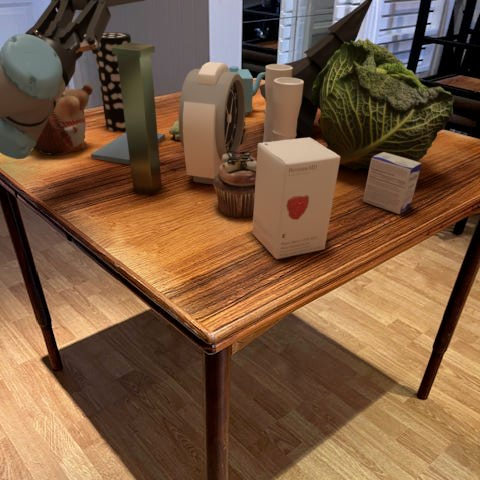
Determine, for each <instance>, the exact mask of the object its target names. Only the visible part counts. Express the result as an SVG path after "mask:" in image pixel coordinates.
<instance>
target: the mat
mask: <svg viewBox="0 0 480 480" xmlns="http://www.w3.org/2000/svg"><path fill="white" fill-rule="evenodd" d="M157 135H158V144H159V143H161V142H162V141H164V140H165V139H166V135H165V133H158V132H157ZM90 156H91V158H90V159H92V160H99V161H104V162H105V161H106V162H113V163H118V164H123V165H125V164H126V165H130V158H129V150H128V142H127V134H126V132H124V133H123V134H121V135H120V136H118V137H116V138H115V139H113V140H111V141H110V142H107V143H106V144H105V145H103V146H102V147H99V148H98V149H97V150H94V151H93V152H91V153H90Z"/></svg>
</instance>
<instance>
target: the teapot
mask: <svg viewBox="0 0 480 480" xmlns="http://www.w3.org/2000/svg"><path fill="white" fill-rule="evenodd" d="M228 67H229V72H237V73H238V74H239V75H240V76H241V78H242V80H243V84H244V90H245V117H246V116H248V115H249V112H250V113H251V112H253V98H254V97H256V95H257V93H258V92H259V90H260V88H259V86H261V83H262V80H263V78H265V73H266V71H264V72H260V73H258V74H257V76H256V79H255V82H254V78H253V76H252V74H251V72H250V70H249V69H248V68H247V69H246V68H245V69H244V68H242V69H240V68H239V66H235V65H231V66H228Z"/></svg>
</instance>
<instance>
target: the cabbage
mask: <svg viewBox="0 0 480 480" xmlns="http://www.w3.org/2000/svg"><path fill="white" fill-rule="evenodd" d="M312 92H313V93H312V96H310V97H311V98H312V101H311V103H312V105H313V106H316V107H318V110H320V117H319V118H318V119H317V123H318V125H319V128H320V129H321V138H322V140H323V141H324V143H325V144H326V146H325V147H326V148H327V149H329V150H331V151H333V152H334V153H336V154H337V155H339V156H340V163H339V166H341V165H342V166H344V167H346V168H349V169H351V170H357V169H366V170H369V168H370V163H371V158H372V157H373V156H375V155H378V154H380V153H383V152H386V153H389V154H393V155H396V156H399V157H403V158H406V159H410V160H413V161H417V162H420V160H422V159H423V158H424V157H425V156H426V155H428V150H429V149H430V148H431V147H432V146H433V143H434V142H435V140H436V139H437V138H438V133H439V132H441V131H443V130H445V127H446V125H447V123H448V122H449V121H450V119H451V117H452V116H453V113H454V108H453V103H454V102H455V97H454V95H453V94H452V93H451V92H450V91H446V90H445V89H444V88H443V87H441V86H434V87H428V86H426V85H424V84H422V82H421V81H420V79H419V78H418V77H417V76H416V75H415V73H414V72H413V70H411V69H407V67H406V65H404V63H403V61H402V60H400V59H399V58H397V56H396V55H394V54H393V53H392V51H390V50H389V49H388V48H386V47H385V46H383V45H380V44H377V43H374V42H372V41H371V40H370V39H369V37H367V38H366V39H365V40H363V39H356V40H355V42H354V41H350V43H346V42H344V44H342V46H341V48H340V49H339V50H338V51H336V52H335V54H334V55H333V56H332V57H331V58H330V60H329V61H328V63H327V65H326V66H325V68H324V69H323V70H322V71H321V72H320V73H319V74H318V76H317V78H316V80H315V82H314V85H313V88H312Z"/></svg>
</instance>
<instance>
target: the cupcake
mask: <svg viewBox="0 0 480 480" xmlns="http://www.w3.org/2000/svg"><path fill="white" fill-rule="evenodd" d="M226 153H227V154H224V155H223V156H222V162H223V164H221V166H220V167H219V170H218V173H217V174H216V176H215V178H214V185H213V187H214V191H215V193H216V198H217V204H218V205H217V206H218V208H219V210H220V211H221V213H223V214H224V215H226V216H229V217H234V218H238V219H239V218H253V213H254V197H255V182H256V166H257V160H255V158H254V157H253V156H252V155H251V153H252V152H251V151H249V150H244V151H240V152H239V151H238V152H234V151H232V150H230V151H227V152H226ZM235 154H236V155H235ZM237 155H239V156H237Z"/></svg>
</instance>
